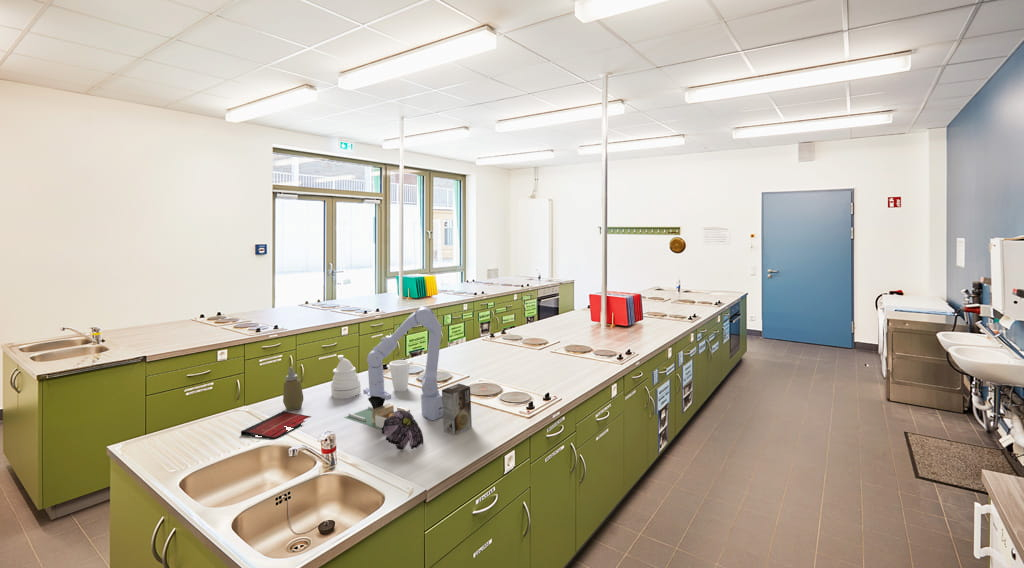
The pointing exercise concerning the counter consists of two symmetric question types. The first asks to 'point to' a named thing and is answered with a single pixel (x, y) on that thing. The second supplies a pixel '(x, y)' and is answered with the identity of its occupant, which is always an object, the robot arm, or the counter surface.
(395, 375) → the foam cup
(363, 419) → the pitch mat
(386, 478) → the counter surface
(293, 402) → the squeeze bottle
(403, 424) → the decorative flower
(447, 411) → the coffee box
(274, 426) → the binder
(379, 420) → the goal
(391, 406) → the block
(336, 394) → the honey pot
